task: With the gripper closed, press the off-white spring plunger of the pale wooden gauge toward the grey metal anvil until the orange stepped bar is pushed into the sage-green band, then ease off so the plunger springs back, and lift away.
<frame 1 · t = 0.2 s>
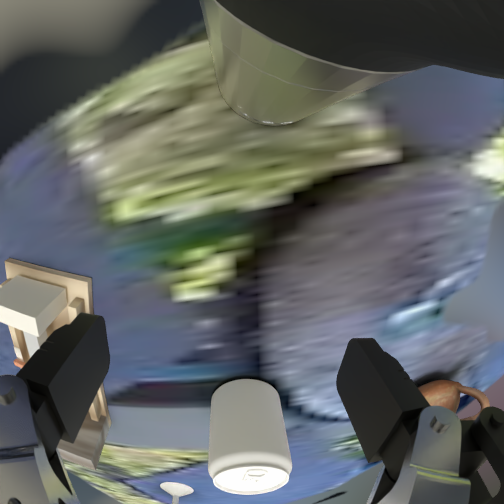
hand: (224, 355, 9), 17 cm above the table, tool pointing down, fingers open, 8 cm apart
orange stepped bar: (36, 372, 25), point 4 cm above the table, slide at 0.0 cm
champagne flute: (176, 487, 41), on the table
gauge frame: (59, 354, 29), on the table
beverage can: (245, 397, 32), on the table
ceramic jug: (416, 401, 36), on the table
plunger: (33, 335, 23), point 4 cm above the table, slide at 0.0 cm
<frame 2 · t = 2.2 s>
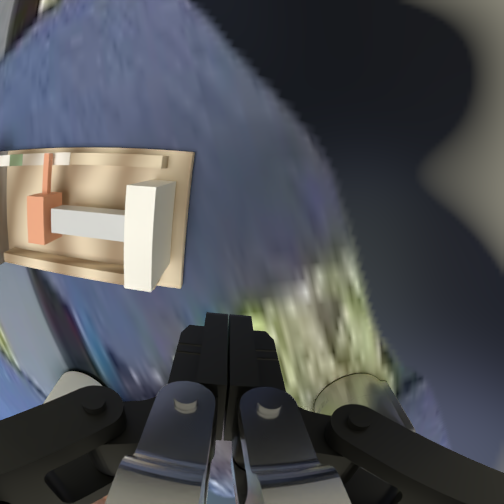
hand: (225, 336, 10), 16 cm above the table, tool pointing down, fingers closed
orange stepped bar: (44, 197, 20), point 4 cm above the table, slide at 0.0 cm
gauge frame: (71, 209, 24), on the table
beverage can: (88, 390, 31), on the table
plunger: (103, 224, 20), point 4 cm above the table, slide at 0.0 cm
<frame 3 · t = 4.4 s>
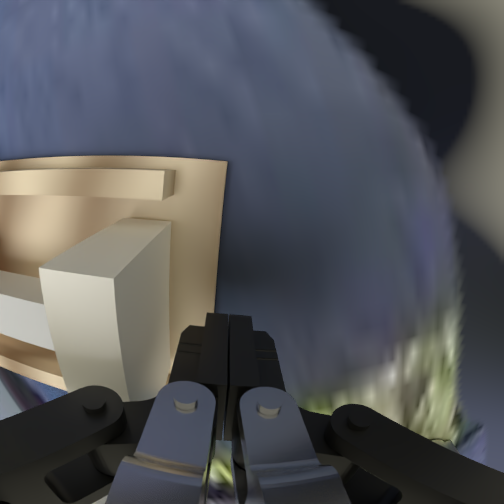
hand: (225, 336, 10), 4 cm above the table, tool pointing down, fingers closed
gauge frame: (15, 265, 13), on the table
plunger: (37, 317, 9), point 4 cm above the table, slide at 0.9 cm, touching gripper, orange stepped bar
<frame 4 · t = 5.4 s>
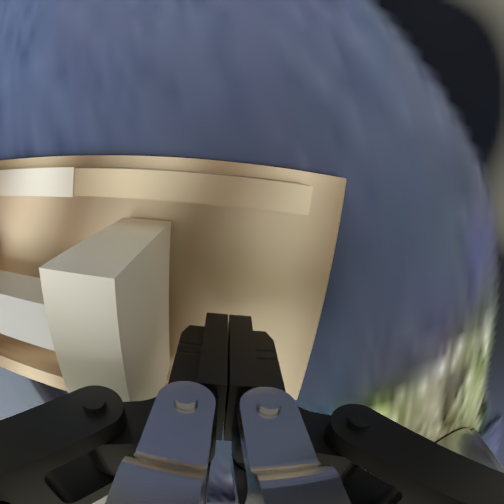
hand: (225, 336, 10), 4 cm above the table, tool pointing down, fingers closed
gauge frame: (81, 276, 13), on the table
plunger: (36, 317, 9), point 4 cm above the table, slide at 5.9 cm, touching gripper, orange stepped bar
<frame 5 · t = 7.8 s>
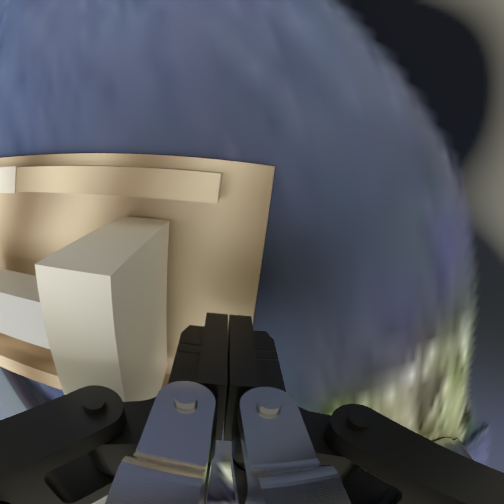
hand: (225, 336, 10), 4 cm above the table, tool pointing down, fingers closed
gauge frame: (35, 267, 13), on the table
plunger: (33, 316, 9), point 4 cm above the table, slide at 2.8 cm, touching gripper
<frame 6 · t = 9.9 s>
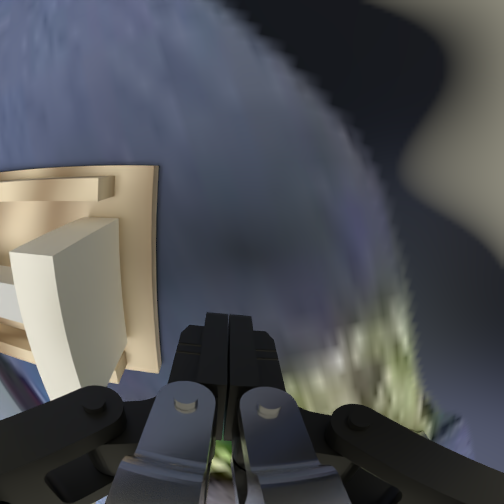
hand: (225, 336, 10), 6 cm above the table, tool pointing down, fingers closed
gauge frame: (1, 261, 14), on the table
plunger: (16, 298, 10), point 4 cm above the table, slide at 0.6 cm
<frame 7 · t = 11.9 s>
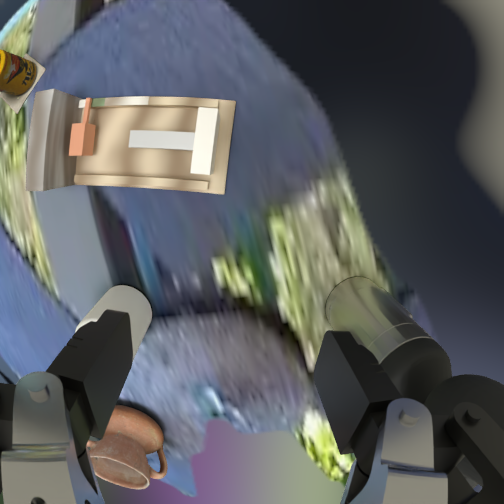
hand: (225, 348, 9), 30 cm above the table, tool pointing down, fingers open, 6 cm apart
orange stepped bar: (84, 126, 29), point 4 cm above the table, slide at 6.1 cm
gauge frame: (139, 141, 34), on the table
beverage can: (128, 307, 41), on the table
ceramic jug: (134, 422, 48), on the table
plunger: (171, 140, 30), point 4 cm above the table, slide at 0.6 cm
condiment: (22, 83, 29), on the table
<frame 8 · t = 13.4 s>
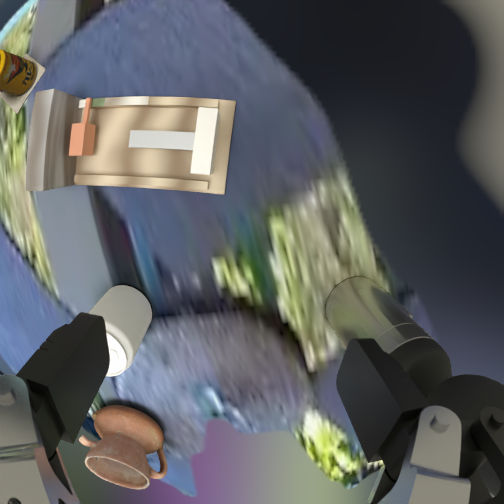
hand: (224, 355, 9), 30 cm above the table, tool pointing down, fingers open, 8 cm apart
orange stepped bar: (84, 126, 29), point 4 cm above the table, slide at 6.1 cm
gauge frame: (139, 141, 34), on the table
beverage can: (128, 307, 41), on the table
ceramic jug: (134, 422, 48), on the table
plunger: (171, 140, 30), point 5 cm above the table, slide at 0.6 cm
condiment: (22, 83, 29), on the table
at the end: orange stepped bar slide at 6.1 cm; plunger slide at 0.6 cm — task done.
